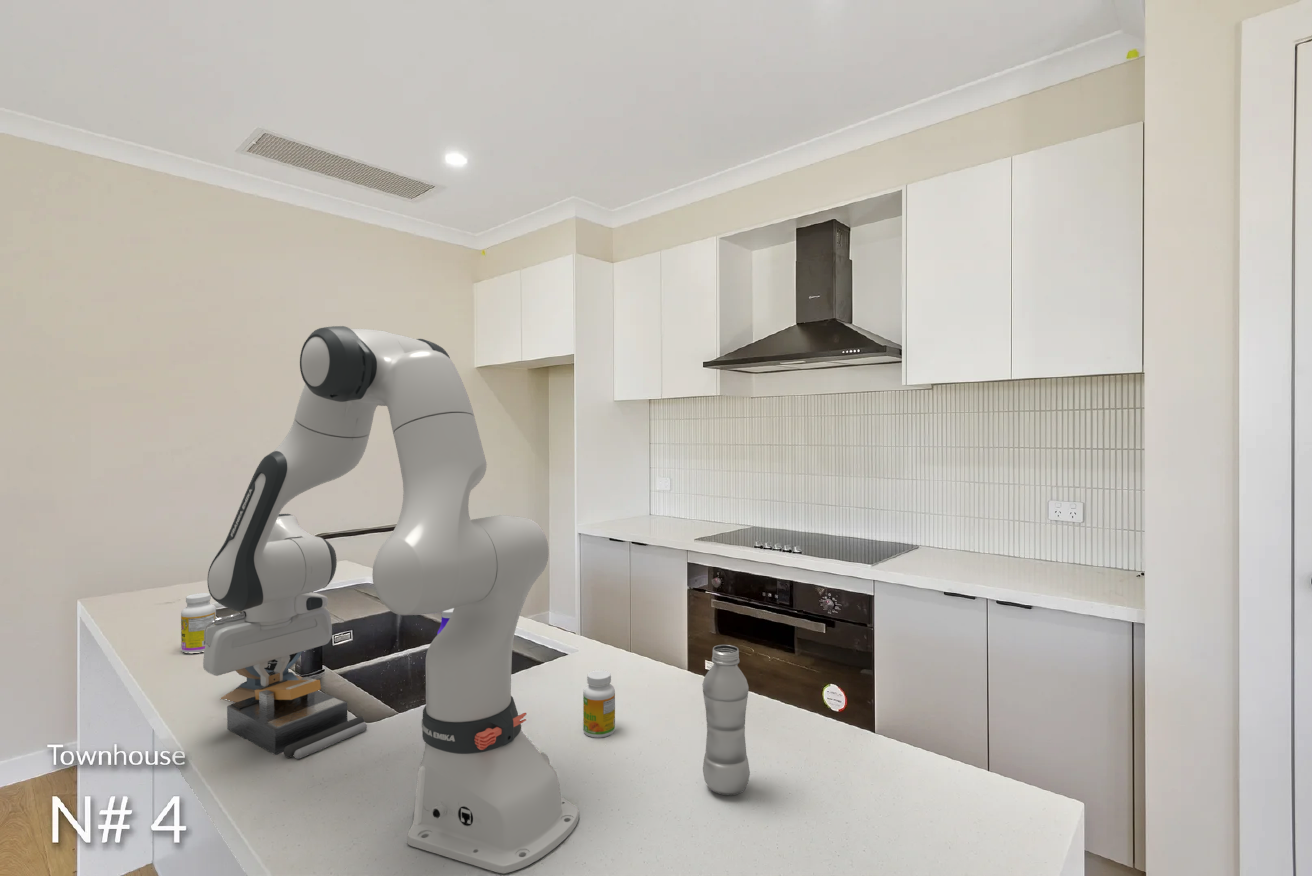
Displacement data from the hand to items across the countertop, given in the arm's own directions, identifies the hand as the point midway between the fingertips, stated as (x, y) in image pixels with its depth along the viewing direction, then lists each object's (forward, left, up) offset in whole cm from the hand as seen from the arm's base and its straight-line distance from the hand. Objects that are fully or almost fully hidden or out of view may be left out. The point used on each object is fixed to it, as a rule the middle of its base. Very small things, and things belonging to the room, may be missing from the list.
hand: (271, 683), depth 113 cm
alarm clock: (+14, -6, -7) cm, 17 cm away
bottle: (-20, -23, -7) cm, 31 cm away
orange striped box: (-5, 0, 0) cm, 5 cm away
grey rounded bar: (-16, -1, -6) cm, 17 cm away
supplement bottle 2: (-51, -28, -7) cm, 59 cm away
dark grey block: (-5, 0, -6) cm, 8 cm away
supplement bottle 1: (+52, -9, -7) cm, 53 cm away
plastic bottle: (-77, -24, -7) cm, 81 cm away
